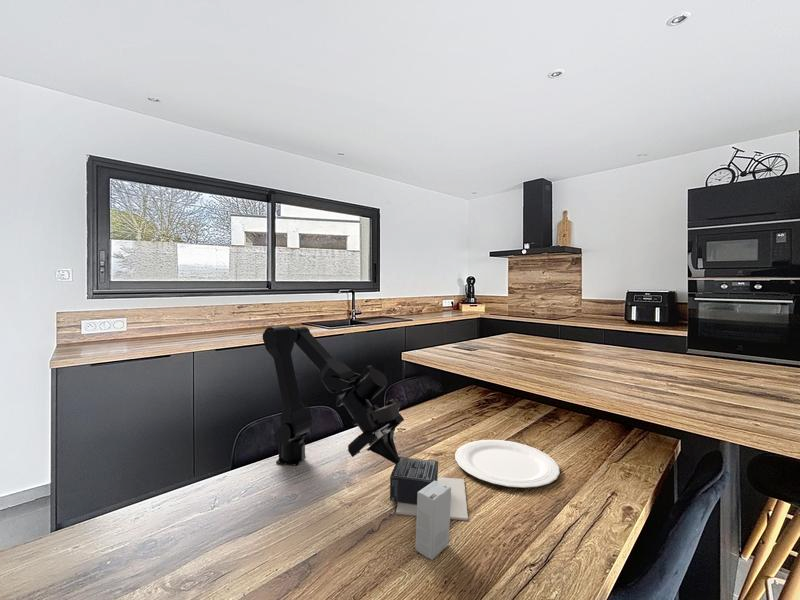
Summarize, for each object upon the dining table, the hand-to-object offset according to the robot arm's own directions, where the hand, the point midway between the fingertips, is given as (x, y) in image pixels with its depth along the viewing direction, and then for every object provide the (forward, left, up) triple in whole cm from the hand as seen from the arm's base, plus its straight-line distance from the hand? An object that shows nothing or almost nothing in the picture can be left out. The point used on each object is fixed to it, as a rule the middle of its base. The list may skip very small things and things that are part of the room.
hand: (397, 462), depth 92 cm
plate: (+29, +21, -9) cm, 37 cm away
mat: (+9, +1, -8) cm, 12 cm away
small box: (-1, +1, -5) cm, 5 cm away
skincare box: (+9, -17, -8) cm, 21 cm away
